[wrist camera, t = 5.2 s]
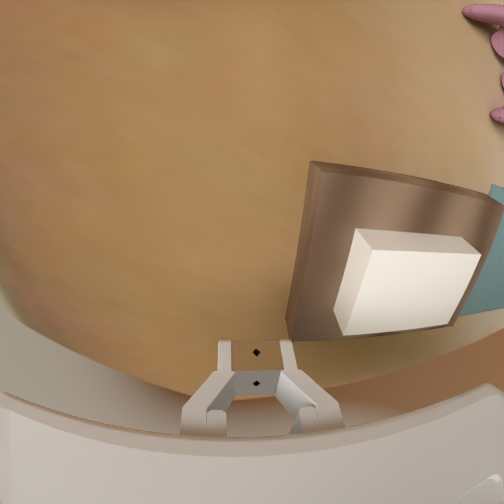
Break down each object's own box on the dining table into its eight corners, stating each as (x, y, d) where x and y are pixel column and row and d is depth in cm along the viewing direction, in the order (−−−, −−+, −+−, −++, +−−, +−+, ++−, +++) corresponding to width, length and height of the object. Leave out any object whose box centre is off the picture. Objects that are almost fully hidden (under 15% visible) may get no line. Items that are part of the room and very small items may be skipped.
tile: (461, 237, 16) (481, 254, 14) (433, 304, 19) (447, 324, 17) (355, 228, 15) (372, 249, 13) (333, 310, 18) (343, 335, 16)
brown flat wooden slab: (486, 194, 17) (505, 206, 15) (440, 308, 23) (452, 325, 21) (310, 160, 16) (322, 171, 13) (285, 317, 22) (290, 341, 19)
